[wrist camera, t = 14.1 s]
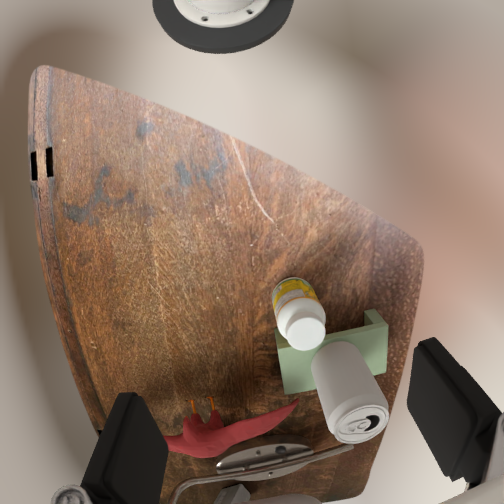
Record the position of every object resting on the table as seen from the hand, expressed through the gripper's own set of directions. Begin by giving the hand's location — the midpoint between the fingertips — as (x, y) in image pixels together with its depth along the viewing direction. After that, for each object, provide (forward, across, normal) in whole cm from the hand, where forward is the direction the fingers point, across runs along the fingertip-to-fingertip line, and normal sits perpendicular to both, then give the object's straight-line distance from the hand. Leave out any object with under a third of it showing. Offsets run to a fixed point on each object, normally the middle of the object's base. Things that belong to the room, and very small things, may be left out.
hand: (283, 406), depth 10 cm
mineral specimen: (+28, +14, +53) cm, 62 cm away
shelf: (+29, -7, +19) cm, 35 cm away
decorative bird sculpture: (+29, +12, +27) cm, 42 cm away
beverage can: (+24, -7, +18) cm, 31 cm away
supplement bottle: (+30, -3, +11) cm, 32 cm away
